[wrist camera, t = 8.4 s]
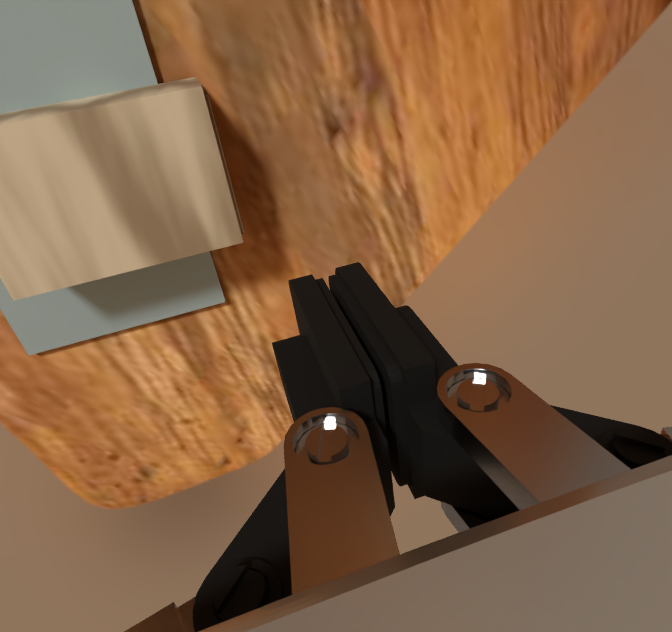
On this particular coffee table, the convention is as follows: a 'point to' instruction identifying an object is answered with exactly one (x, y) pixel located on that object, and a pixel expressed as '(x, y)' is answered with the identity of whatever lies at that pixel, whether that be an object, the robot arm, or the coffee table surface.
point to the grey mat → (70, 84)
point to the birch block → (111, 186)
